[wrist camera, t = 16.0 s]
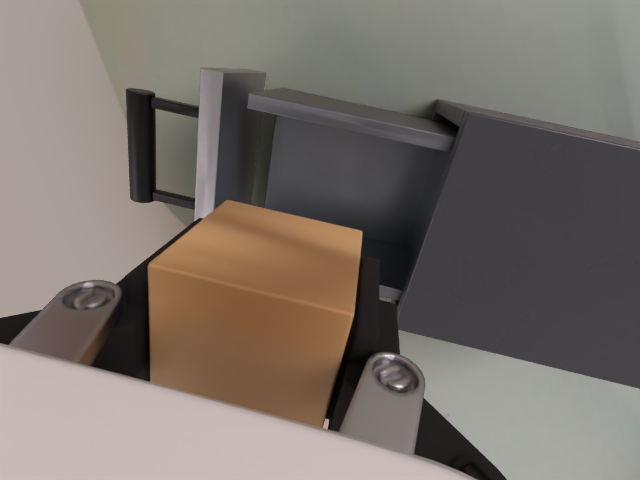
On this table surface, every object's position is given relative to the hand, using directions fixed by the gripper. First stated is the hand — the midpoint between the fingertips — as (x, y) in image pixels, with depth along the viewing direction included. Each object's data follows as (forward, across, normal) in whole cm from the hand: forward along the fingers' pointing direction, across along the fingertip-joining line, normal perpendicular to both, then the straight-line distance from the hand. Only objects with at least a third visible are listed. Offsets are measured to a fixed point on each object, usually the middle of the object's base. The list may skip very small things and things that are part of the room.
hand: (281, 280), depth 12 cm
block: (0, 0, 0) cm, 0 cm away
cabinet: (+18, -14, 0) cm, 22 cm away
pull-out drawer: (+17, +3, 0) cm, 17 cm away
